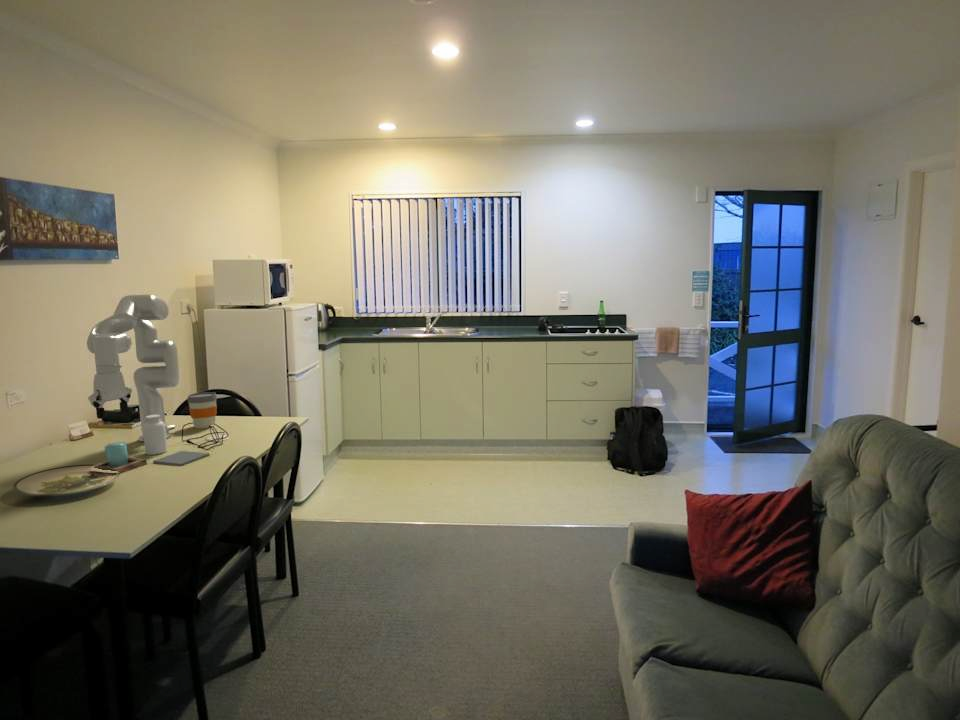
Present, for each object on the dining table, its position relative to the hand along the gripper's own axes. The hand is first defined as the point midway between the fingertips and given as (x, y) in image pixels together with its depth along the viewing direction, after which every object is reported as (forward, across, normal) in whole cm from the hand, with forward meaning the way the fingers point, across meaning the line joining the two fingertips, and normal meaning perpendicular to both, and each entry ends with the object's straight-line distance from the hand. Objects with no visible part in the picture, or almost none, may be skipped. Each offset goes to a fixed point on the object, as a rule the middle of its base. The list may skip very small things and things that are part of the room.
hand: (113, 415), depth 236 cm
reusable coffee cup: (+20, -61, -17) cm, 67 cm away
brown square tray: (+20, 0, 0) cm, 20 cm away
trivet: (+20, -15, +15) cm, 29 cm away
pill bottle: (+20, -20, -3) cm, 29 cm away
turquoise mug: (+20, 0, -1) cm, 20 cm away
